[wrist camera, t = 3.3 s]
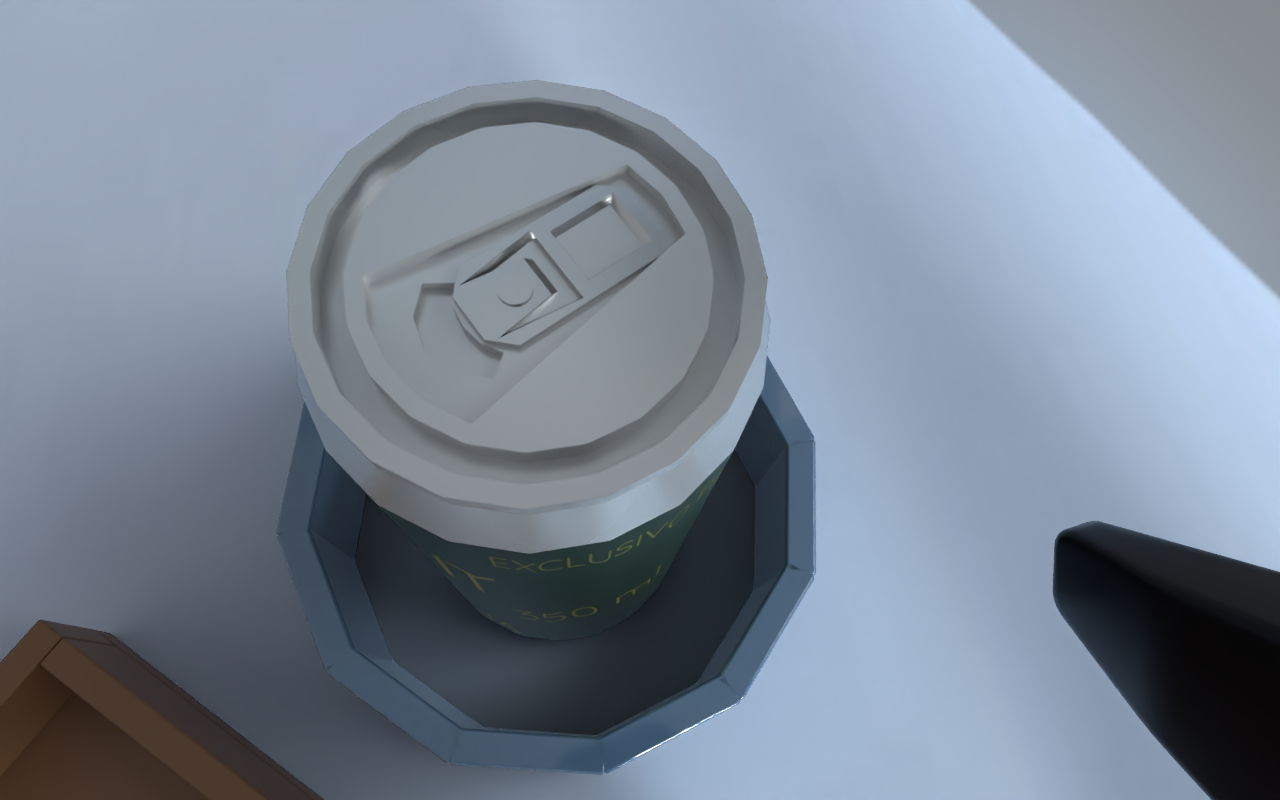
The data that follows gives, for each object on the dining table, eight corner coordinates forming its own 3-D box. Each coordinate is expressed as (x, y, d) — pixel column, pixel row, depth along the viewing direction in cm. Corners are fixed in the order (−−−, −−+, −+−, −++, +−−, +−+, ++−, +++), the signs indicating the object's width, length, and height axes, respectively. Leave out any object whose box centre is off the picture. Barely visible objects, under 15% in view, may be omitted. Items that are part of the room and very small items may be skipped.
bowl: (857, 469, 21) (906, 423, 18) (618, 867, 18) (626, 898, 15) (514, 251, 23) (502, 171, 19) (237, 582, 19) (166, 553, 16)
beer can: (587, 372, 22) (589, -8, 10) (723, 548, 20) (895, 331, 9) (397, 498, 20) (164, 217, 9) (530, 695, 19) (450, 655, 8)
